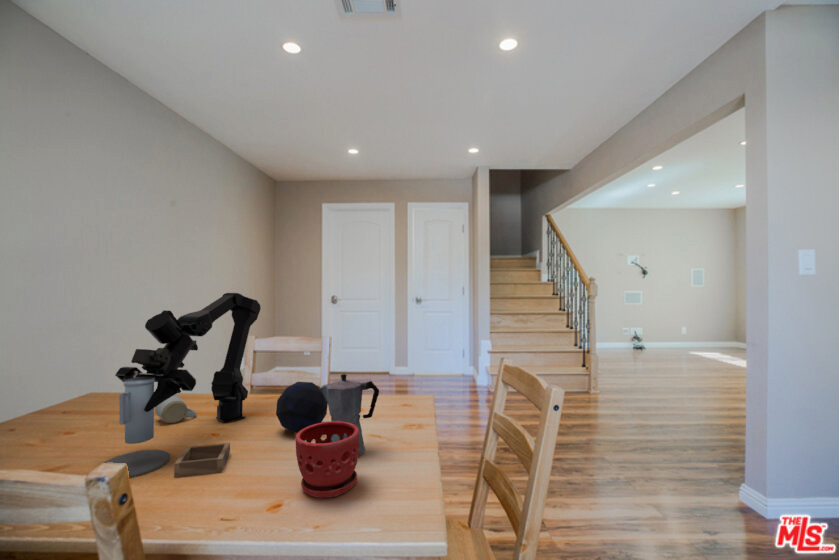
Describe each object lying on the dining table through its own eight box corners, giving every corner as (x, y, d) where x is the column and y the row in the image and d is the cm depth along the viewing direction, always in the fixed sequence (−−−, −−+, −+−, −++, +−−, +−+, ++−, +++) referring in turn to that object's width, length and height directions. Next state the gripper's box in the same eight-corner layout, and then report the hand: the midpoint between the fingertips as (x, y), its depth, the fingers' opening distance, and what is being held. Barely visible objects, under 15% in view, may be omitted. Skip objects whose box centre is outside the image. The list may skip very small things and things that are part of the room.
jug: (139, 433, 96) (139, 376, 96) (161, 434, 95) (161, 377, 95) (109, 446, 89) (110, 384, 89) (132, 448, 88) (132, 385, 88)
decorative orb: (261, 411, 117) (277, 375, 111) (305, 400, 128) (322, 367, 122) (280, 451, 109) (299, 415, 103) (325, 435, 121) (344, 402, 115)
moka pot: (321, 445, 105) (321, 370, 105) (378, 443, 106) (379, 369, 107) (314, 461, 95) (315, 378, 96) (378, 459, 97) (378, 377, 97)
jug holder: (186, 459, 96) (187, 446, 96) (229, 454, 99) (229, 442, 99) (174, 477, 87) (174, 463, 87) (221, 472, 90) (221, 458, 90)
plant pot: (320, 468, 92) (321, 417, 92) (370, 479, 87) (370, 425, 87) (281, 496, 80) (282, 436, 80) (335, 510, 75) (336, 447, 75)
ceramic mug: (161, 427, 118) (162, 401, 118) (154, 420, 124) (155, 396, 124) (199, 419, 126) (200, 395, 126) (191, 413, 131) (192, 390, 132)
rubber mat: (160, 448, 103) (160, 444, 103) (177, 464, 93) (177, 461, 93) (91, 465, 92) (91, 462, 92) (103, 486, 83) (103, 482, 83)
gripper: (122, 334, 99) (76, 390, 88) (188, 336, 95) (148, 394, 84) (149, 360, 106) (109, 414, 95) (210, 362, 103) (176, 419, 92)
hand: (134, 410), depth 91 cm, fingers closed on jug, 6 cm apart
